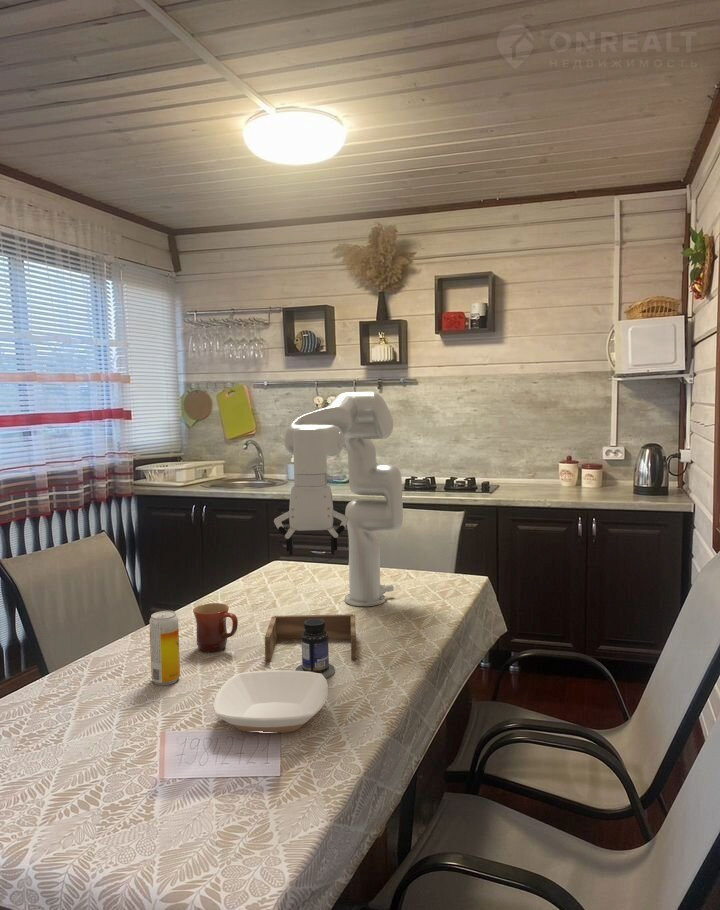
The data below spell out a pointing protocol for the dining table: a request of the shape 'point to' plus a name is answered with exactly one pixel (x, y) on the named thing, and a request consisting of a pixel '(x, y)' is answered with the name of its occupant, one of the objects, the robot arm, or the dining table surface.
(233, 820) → the dining table surface
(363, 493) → the robot arm
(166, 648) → the beer can
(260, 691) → the bowl
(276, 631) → the u-shaped wooden arch
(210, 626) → the mug
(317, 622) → the pill bottle
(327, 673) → the slate coaster
